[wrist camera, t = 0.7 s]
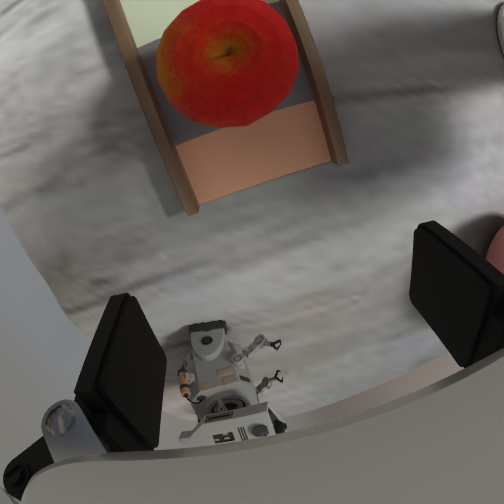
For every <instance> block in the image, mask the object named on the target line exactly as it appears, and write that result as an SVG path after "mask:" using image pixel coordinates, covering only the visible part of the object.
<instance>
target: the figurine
mask: <svg viewBox="0 0 504 504" xmlns="http://www.w3.org/2000/svg"><path fill="white" fill-rule="evenodd" d="M189 332H190V335H191V344H192V347H193V349H192V350H191V351H190V352H189V354H188V355H187V356H186V358H185V359H184V360H183V361H184V364H183V365H181V367H182V369H180V370H178V376H179V382H180V391H181V395H182V397H185V398H187V399H188V401H190V403H191V405H192V407H193V409H194V410H195V414H196V415H197V418H198V424H197V426H196V427H195V428H194V430H192V431H185V432H182V433H181V435H180V437H179V441H180V443H181V444H182V445H183V446H185V447H186V448H191V447H200V446H209V445H217V444H224V443H231V442H238V441H244V440H250V439H255V438H260V437H266V436H271V435H275V434H280V433H285V432H287V426H286V423H285V422H284V421H283V420H282V418H281V417H280V416H279V414H278V413H277V412H276V411H275V410H274V408H273V407H272V406H271V405H270V404H269V403H268V402H264V403H260V404H259V400H258V397H261V396H262V395H263V393H262V392H263V391H265V389H266V388H268V389H269V388H270V387H271V386H272V382H273V381H275V380H278V381H280V382H282V383H283V378H282V380H280V379H279V378H278V377H277V375H278V372H281V371H279V370H277V371H276V374H275V376H274V377H272V378H267V377H264V378H263V380H262V383H261V384H259V385H258V387H255V386H254V383H253V380H252V378H251V375H250V372H249V370H248V367H247V364H246V362H245V359H246V358H247V357H248V358H249V359H251V358H253V357H254V355H255V354H254V353H255V352H256V351H257V350H258V349H260V348H263V347H264V346H265V345H266V346H271V347H273V348H274V349H276V350H278V349H279V347H280V345H281V340H277V341H275V342H270V341H267V339H266V338H265V337H264V335H258V336H257V337H256V338H255V340H254V342H253V343H252V344H250V345H249V347H244V348H243V350H241V348H240V346H239V345H237V344H234V343H231V342H228V341H226V340H225V335H226V333H227V326H226V322H225V321H222V320H219V321H218V322H215V321H212V322H211V323H207V324H205V323H200V325H198V324H194V325H193V326H189ZM279 342H280V345H279V346H278V347H276V346H275V344H277V343H279ZM188 397H189V398H190V399H189V398H188Z"/></svg>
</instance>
